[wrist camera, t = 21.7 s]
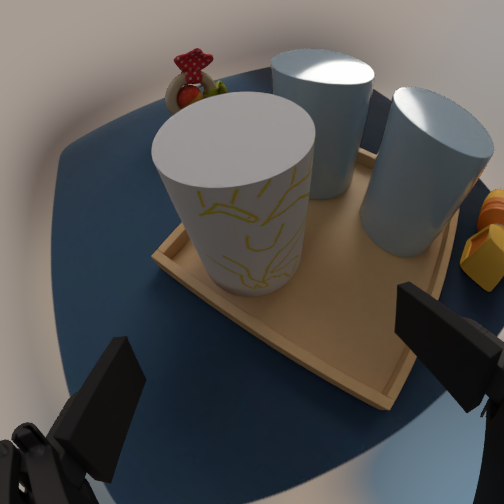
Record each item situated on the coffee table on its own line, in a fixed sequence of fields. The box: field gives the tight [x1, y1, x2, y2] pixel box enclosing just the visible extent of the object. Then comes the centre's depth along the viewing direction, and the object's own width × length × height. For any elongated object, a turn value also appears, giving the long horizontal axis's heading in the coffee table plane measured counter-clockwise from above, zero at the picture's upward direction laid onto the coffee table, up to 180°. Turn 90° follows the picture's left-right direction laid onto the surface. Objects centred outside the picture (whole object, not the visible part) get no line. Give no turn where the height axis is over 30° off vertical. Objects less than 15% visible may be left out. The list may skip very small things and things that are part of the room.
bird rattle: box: [165, 48, 228, 115], centre depth 31 cm, size 6×11×9 cm
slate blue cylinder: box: [271, 49, 375, 200], centre depth 22 cm, size 8×8×12 cm
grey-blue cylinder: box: [359, 87, 494, 257], centre depth 18 cm, size 8×8×12 cm
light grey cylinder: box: [152, 92, 315, 297], centre depth 18 cm, size 8×8×12 cm
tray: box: [151, 148, 460, 410], centre depth 23 cm, size 22×22×2 cm
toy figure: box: [460, 189, 504, 292], centre depth 19 cm, size 5×6×12 cm
